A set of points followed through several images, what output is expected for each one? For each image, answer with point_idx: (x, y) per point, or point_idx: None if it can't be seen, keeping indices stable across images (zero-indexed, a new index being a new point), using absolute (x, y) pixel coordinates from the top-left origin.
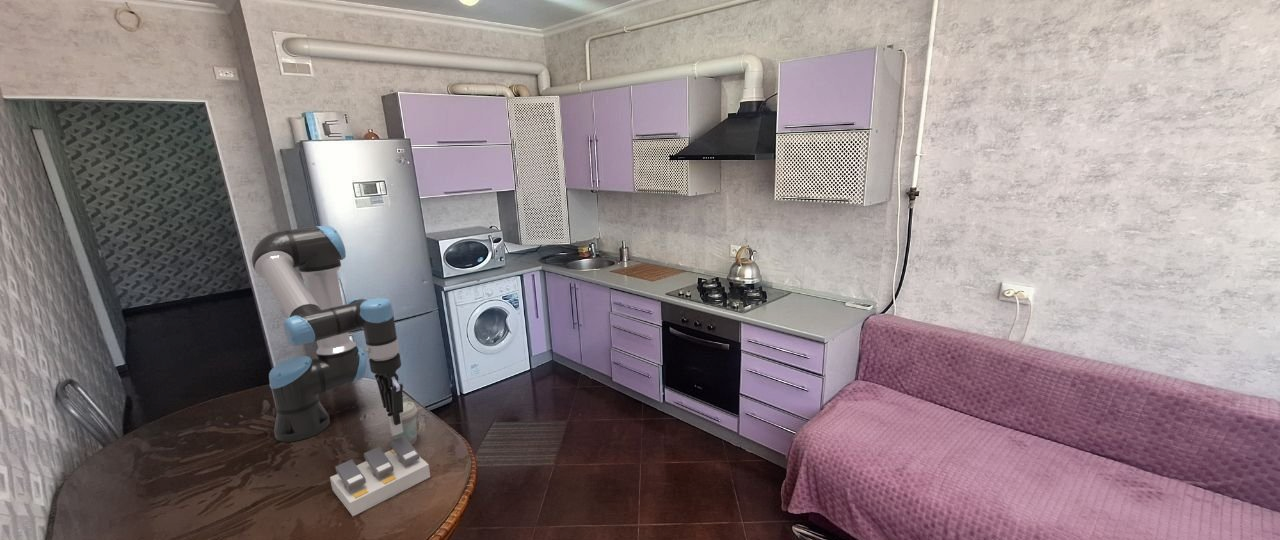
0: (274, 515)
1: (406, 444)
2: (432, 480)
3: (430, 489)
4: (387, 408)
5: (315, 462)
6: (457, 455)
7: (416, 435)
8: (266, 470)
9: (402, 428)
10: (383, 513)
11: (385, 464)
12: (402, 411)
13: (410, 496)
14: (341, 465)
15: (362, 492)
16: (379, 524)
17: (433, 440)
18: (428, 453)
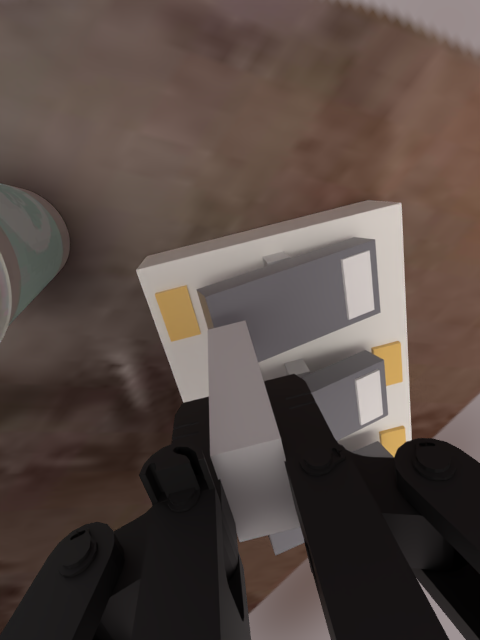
0: (246, 569)
1: (280, 293)
2: (395, 198)
3: (441, 218)
4: (245, 611)
5: (22, 520)
6: (291, 28)
7: (14, 187)
8: (6, 610)
9: (248, 333)
10: (437, 367)
11: (363, 392)
12: (461, 459)
13: (423, 288)
14: (280, 538)
15: (395, 442)
16: (473, 379)
17: (67, 106)
18: (183, 163)
